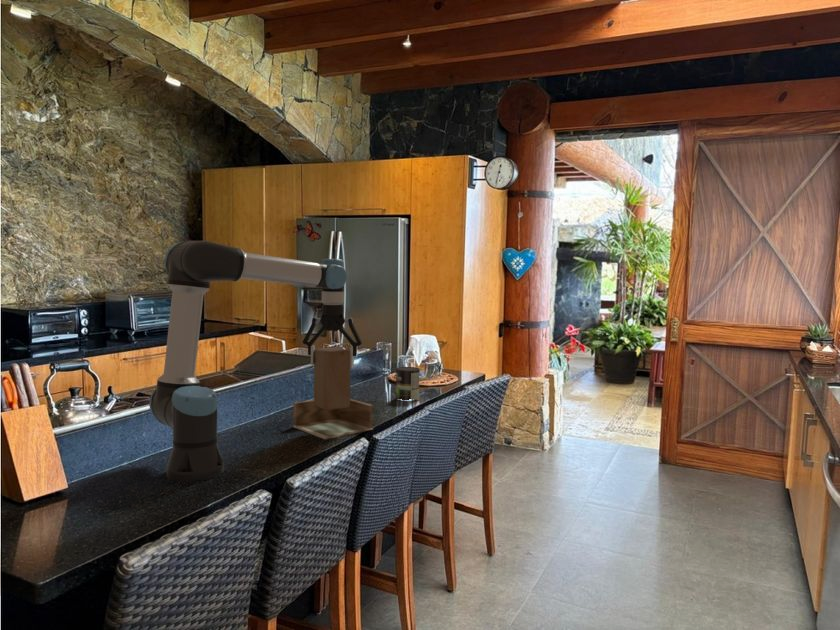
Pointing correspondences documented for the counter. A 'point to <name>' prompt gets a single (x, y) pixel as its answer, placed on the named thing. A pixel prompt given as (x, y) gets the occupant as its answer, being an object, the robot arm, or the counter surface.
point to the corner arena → (333, 419)
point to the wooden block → (332, 378)
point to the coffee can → (407, 383)
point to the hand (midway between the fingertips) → (332, 365)
